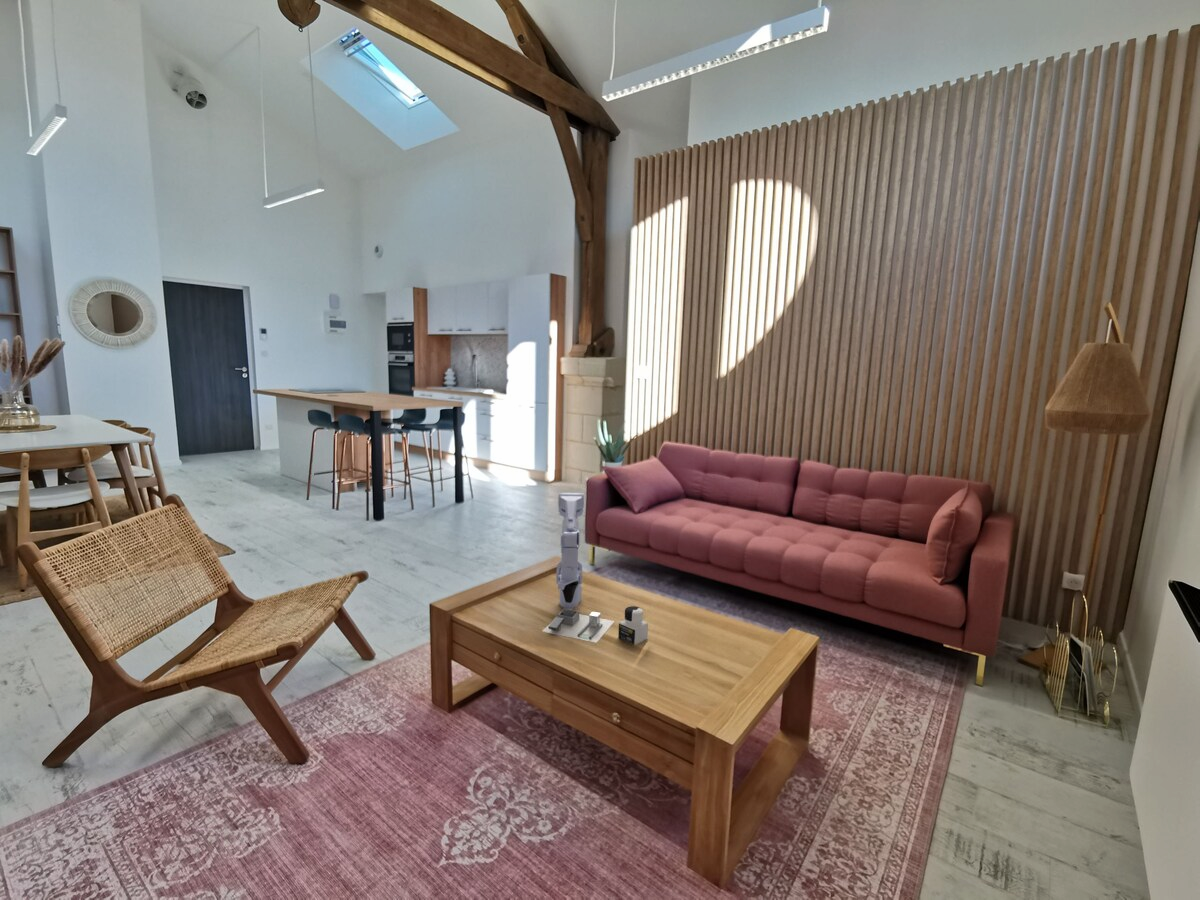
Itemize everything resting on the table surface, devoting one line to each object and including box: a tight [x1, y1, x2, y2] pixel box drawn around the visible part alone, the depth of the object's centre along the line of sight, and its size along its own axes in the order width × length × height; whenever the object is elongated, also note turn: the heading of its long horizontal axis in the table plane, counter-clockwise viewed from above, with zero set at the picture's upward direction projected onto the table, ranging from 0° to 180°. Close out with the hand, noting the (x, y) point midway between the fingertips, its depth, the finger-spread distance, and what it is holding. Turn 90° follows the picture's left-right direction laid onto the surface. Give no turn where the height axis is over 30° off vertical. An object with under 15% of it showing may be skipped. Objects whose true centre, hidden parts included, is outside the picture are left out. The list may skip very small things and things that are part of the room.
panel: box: [541, 609, 615, 644], centre depth 205 cm, size 18×20×4 cm
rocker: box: [547, 616, 564, 631], centre depth 201 cm, size 6×3×1 cm, turn 159°
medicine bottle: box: [617, 605, 649, 646], centre depth 196 cm, size 7×7×12 cm
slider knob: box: [588, 611, 601, 627], centre depth 204 cm, size 3×3×4 cm
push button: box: [562, 607, 575, 617], centre depth 208 cm, size 4×4×4 cm
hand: (568, 601), depth 207 cm, fingers closed
